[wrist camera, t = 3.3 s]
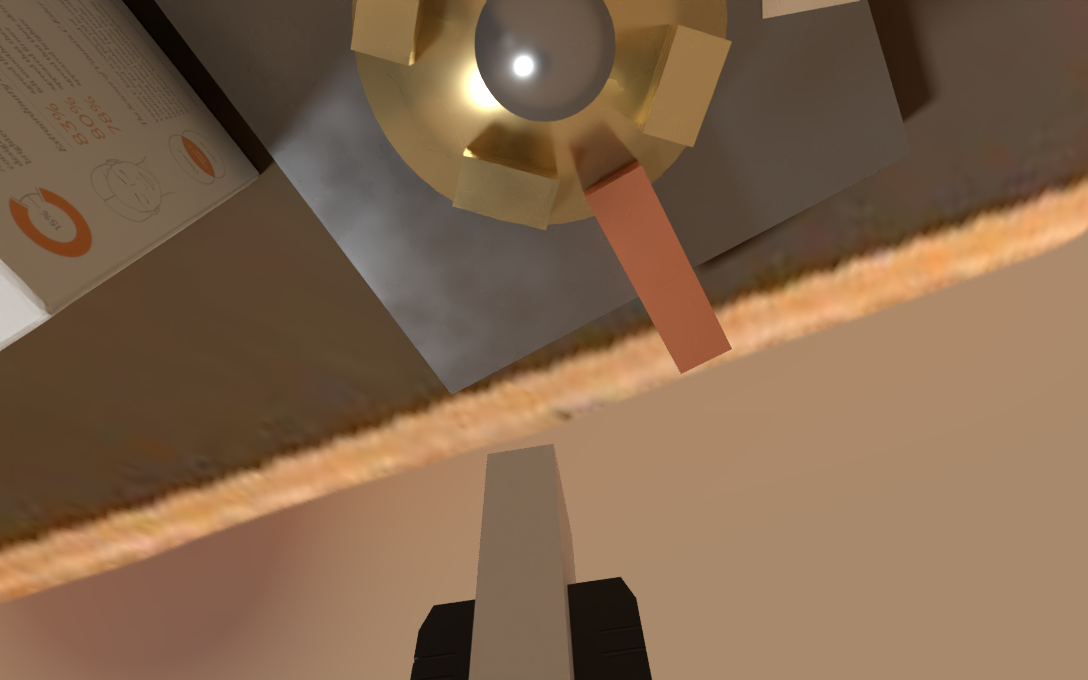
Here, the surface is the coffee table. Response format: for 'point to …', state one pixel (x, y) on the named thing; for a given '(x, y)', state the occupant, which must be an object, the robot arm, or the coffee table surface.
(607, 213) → the gold tabbed disc
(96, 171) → the small box
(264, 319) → the coffee table surface
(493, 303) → the flange plate
